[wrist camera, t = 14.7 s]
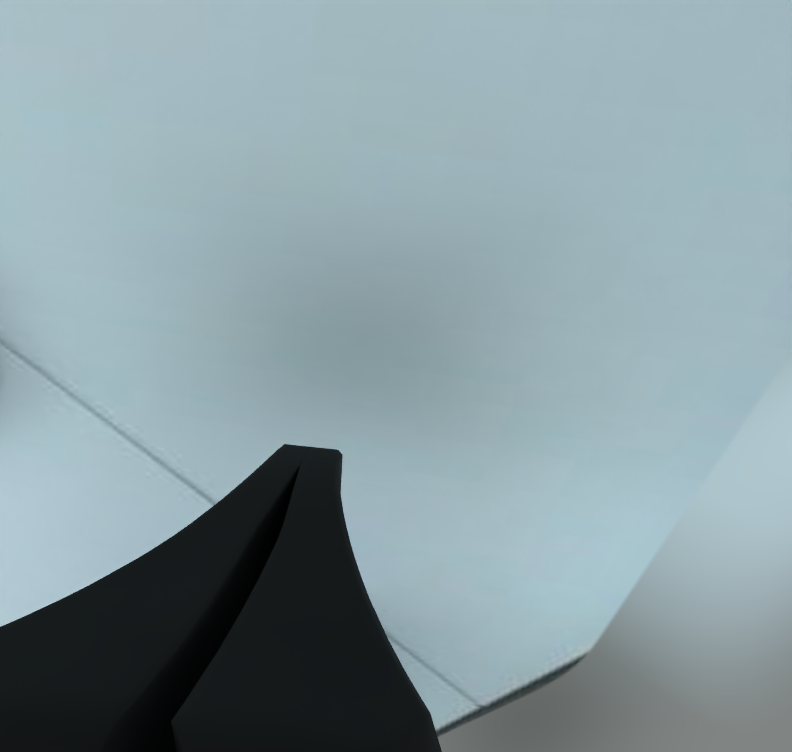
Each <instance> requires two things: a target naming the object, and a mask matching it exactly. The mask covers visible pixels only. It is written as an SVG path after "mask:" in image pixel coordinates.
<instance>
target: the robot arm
mask: <svg viewBox="0 0 792 752" xmlns="http://www.w3.org/2000/svg"><path fill="white" fill-rule="evenodd" d="M341 473H342V454H341V453H340V452H339V450H335V449H325V448H316V447H306V446H296V445H287V444H284V445H283V446H282V447H280V448H279V449H278V450H277V451H276V452H275V453H274V454H273V455H272V456H270V457H269V458H268V459H267V460H266V461H265V462H264V463H263V464H262V465H261V466H260V467H259V468H258V469H256V470H255V471H254V472H253V473H252V474H251V475H250V476H249V477H248V478H246V479H245V480H244V481H243V482H242V483H241V484H239V485H238V486H237V487H236V488H235V489H234V490H232V491H231V492H230V493H229V494H228V495H227V496H225V497H224V498H223V499H222V500H221V501H219V502H218V503H217V504H215V505H214V506H213V507H212V508H210V509H209V510H208V511H206V512H205V513H204V514H203V515H201V516H200V517H199V518H197V519H196V520H195V521H193V522H192V523H191V524H189V525H188V526H187V527H185V528H184V529H182V530H181V531H180V532H178V533H177V534H175V535H174V536H172V537H171V538H169V539H168V540H166V541H165V542H163V543H162V544H160V545H159V546H157V547H155V548H154V549H152V550H151V551H149V552H148V553H146V554H144V555H143V556H141V557H139V558H138V559H136V560H134V561H132V562H130V563H129V564H127V565H125V566H123V567H121V568H120V569H118V570H116V571H114V572H112V573H111V574H109V575H107V576H105V577H103V578H102V579H100V580H98V581H96V582H94V583H93V584H91V585H89V586H87V587H85V588H83V589H81V590H79V591H77V592H75V593H73V594H71V595H69V596H67V597H65V598H63V599H61V600H59V601H57V602H55V603H52V604H50V605H48V606H46V607H44V608H42V609H40V610H37V611H35V612H33V613H31V614H29V615H27V616H24V617H22V618H20V619H18V620H15V621H13V622H11V623H8V624H6V625H4V626H1V627H0V752H442V751H441V747H440V744H439V741H438V738H437V734H436V731H435V728H434V724H433V721H432V717H431V714H430V712H429V710H428V709H427V707H426V705H425V704H424V702H423V700H422V699H421V697H420V696H419V694H418V692H417V691H416V689H415V687H414V686H413V684H412V682H411V680H410V679H409V677H408V675H407V674H406V672H405V670H404V668H403V667H402V665H401V663H400V661H399V659H398V657H397V655H396V653H395V651H394V650H393V648H392V646H391V644H390V642H389V640H388V638H387V636H386V634H385V632H384V629H383V627H382V625H381V623H380V621H379V618H378V616H377V614H376V612H375V610H374V608H373V605H372V603H371V601H370V599H369V596H368V594H367V591H366V588H365V586H364V583H363V581H362V578H361V575H360V572H359V569H358V566H357V563H356V560H355V557H354V554H353V550H352V547H351V543H350V540H349V536H348V532H347V528H346V523H345V518H344V513H343V507H342V501H341V494H340V493H341Z"/></svg>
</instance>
